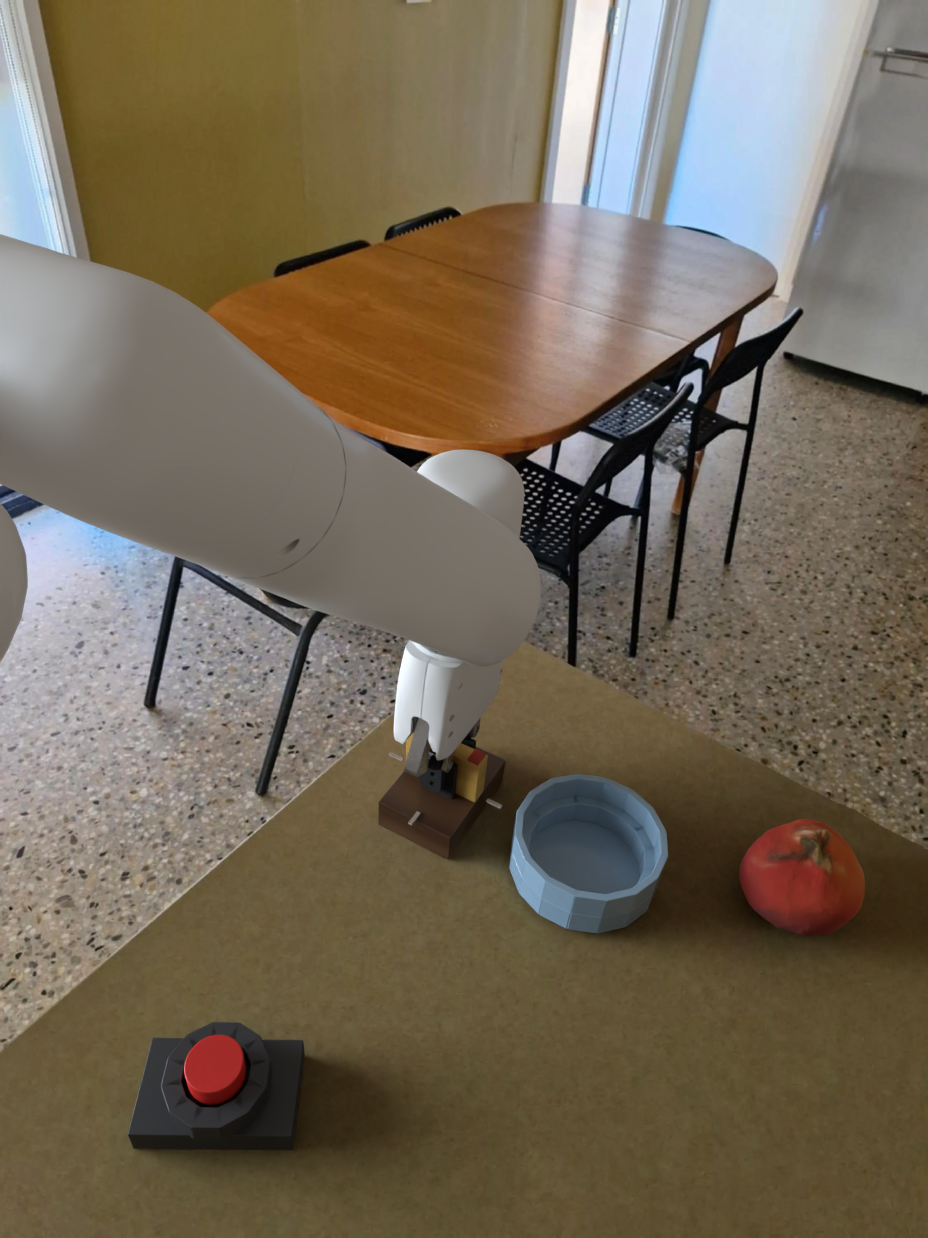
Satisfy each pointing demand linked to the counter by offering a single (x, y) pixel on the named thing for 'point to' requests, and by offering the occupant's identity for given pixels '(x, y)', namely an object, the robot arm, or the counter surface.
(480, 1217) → the counter surface
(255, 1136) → the button box
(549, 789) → the basin
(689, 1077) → the counter surface
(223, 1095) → the button
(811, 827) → the tomato
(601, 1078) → the counter surface
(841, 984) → the counter surface
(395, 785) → the base
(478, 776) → the yellow block red tip
